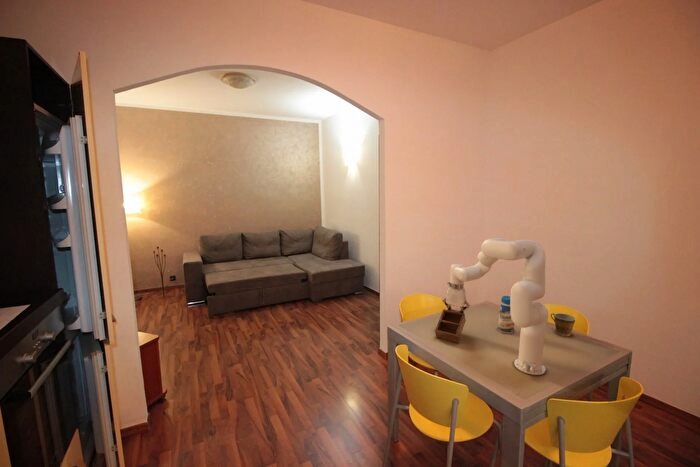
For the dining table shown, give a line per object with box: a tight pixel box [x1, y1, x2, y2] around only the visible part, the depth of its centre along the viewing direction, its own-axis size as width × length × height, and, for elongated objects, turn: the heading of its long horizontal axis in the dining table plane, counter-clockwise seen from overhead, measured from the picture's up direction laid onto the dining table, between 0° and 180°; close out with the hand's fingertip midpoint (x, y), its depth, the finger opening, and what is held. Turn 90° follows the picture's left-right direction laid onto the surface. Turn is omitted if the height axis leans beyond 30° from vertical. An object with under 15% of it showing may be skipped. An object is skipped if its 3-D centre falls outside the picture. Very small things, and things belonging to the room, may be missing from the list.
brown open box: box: [434, 308, 467, 344], centre depth 179 cm, size 6×12×19 cm
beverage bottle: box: [497, 295, 515, 334], centre depth 183 cm, size 8×8×20 cm
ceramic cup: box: [550, 312, 576, 337], centre depth 181 cm, size 13×10×10 cm
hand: (455, 315), depth 185 cm, fingers closed on brown open box, 6 cm apart
